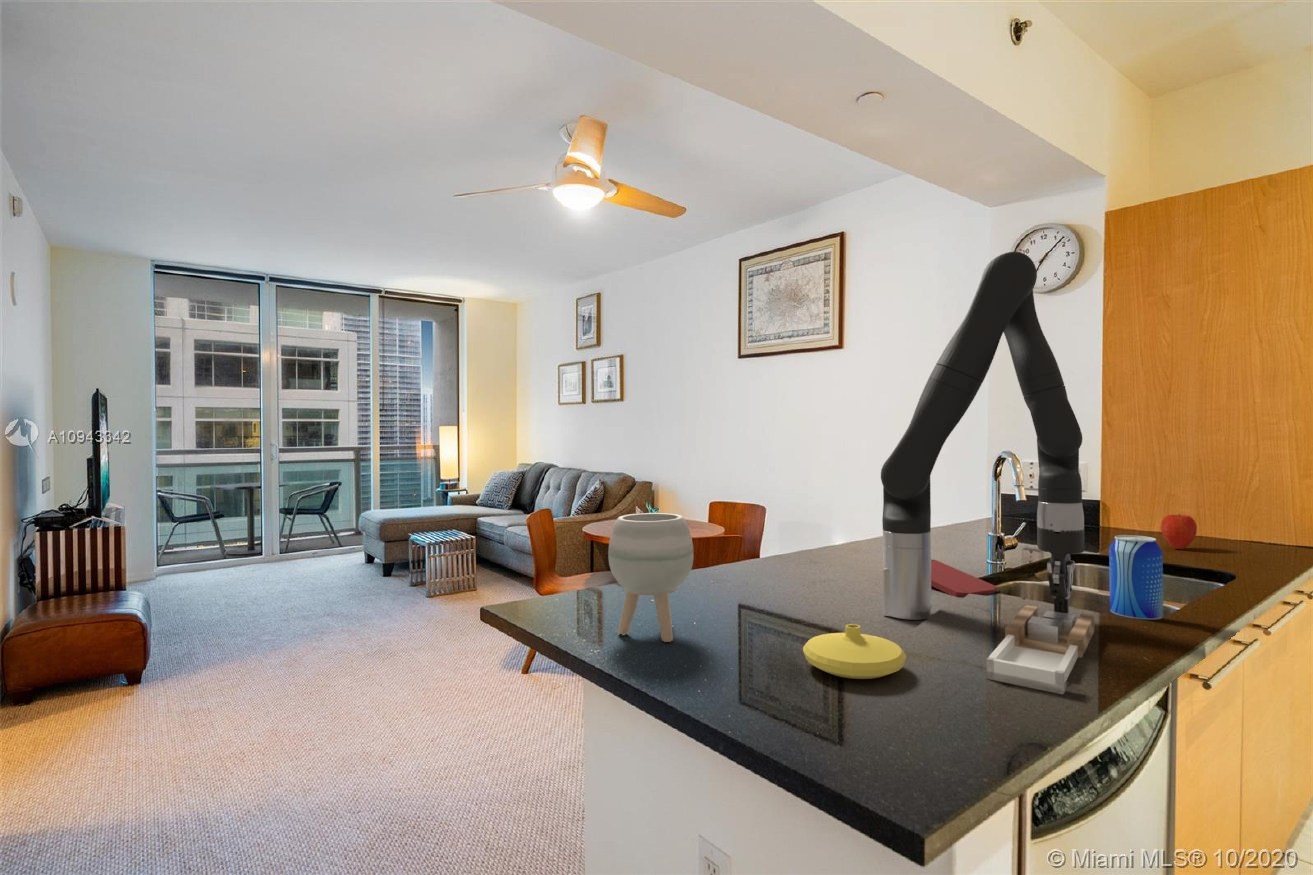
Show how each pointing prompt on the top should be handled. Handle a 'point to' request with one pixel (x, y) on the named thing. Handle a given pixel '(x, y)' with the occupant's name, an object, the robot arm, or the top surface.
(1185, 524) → the apple
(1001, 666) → the tray
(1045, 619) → the chip
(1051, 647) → the slot board
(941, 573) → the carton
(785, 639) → the top surface
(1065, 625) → the chip
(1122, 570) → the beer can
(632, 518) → the planter
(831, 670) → the vase
